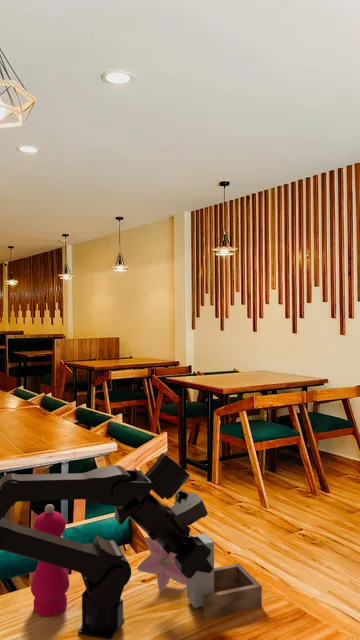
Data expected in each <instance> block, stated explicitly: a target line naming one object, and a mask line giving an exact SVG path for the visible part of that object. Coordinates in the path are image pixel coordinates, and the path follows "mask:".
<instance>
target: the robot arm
mask: <svg viewBox="0 0 360 640" xmlns="http://www.w3.org/2000/svg"><path fill="white" fill-rule="evenodd" d="M190 477H191V475H190V474H189V473H188V472H187V471H186V470H185V469H184V468H183V466H181V465H179V463H177V462H176V461H175V460H173V459H172V458H171V457H170V456H169V455H167V454H166V453H165V452H162V453H160V454H159V456H158V457H157V459H156V461H155V462H154V463H153V464H152V465H151V466H150V467H149V469H148V470H147V471H146V472H145V473H144V472H143V471H142V470H138V469H137V470H136V469H126V468H124V467H123V466H121V465H118V464H112V465H108V466H102V467H97V468H95V469H94V468H93V469H92V470H89V471H87V472H86V471H85V472H82V473H79V472H78V473H34V474H33V473H30V474H25V473H24V474H18V473H14V472H13V473H11V472H10V473H7V474H5V475H3V476H2V477H1V478H0V551H3V552H7V553H11V554H14V555H18V556H21V557H25V558H28V559H31V560H36V561H42V562H45V563H49V564H52V565H56V566H59V567H63V568H66V570H71V571H73V572H77V573H78V574H81V578H82V580H83V583H84V586H85V590H84V591H83V592H82V594H81V625H80V626H79V628H78V629H77V633H78V634H79V635H86V636H92V637H97V638H101V639H107V640H108V639H112V638H113V637H114V635H115V634H116V633H117V631H118V630H119V628H120V627H121V626H122V624H123V622H124V621H125V615H124V600H123V599H121V597H122V594H123V591H124V588H125V587H126V586H127V584H128V583H129V581H130V580H131V576H132V568H131V566H130V565H131V564H130V563H129V561H128V559H127V558H126V556H125V553H124V551H123V550H122V548H120V547H119V545H117V543H116V541H115V540H113V539H112V540H111V539H110V540H108V539H104V538H102V537H100V536H98V535H95V536H94V539H93V542H91V543H81V542H77V541H74V540H71V539H68V538H64V537H63V538H61V537H58V536H55V535H51V534H48V533H45V532H41V531H38V530H35V529H34V528H33V527H32V528H31V527H27V526H24V525H21V524H18V523H14V522H13V521H9V520H8V519H7V518H6V517H4V516H5V515H6V514H7V512H8V511H10V509H11V508H12V507H13V506H14V505H16V503H18V502H42V501H44V502H47V501H48V502H49V501H69V500H70V501H72V500H73V501H74V500H86V501H90V502H93V503H97V504H100V505H105V506H106V505H107V506H113V507H114V510H115V511H114V518H115V520H116V521H117V524H119V525H121V526H122V525H123V524H124V522H126V521H127V519H128V518H129V519H130V520H131V521H133V523H135V524H136V525H137V526H138V527H140V529H142V531H144V532H145V533H146V534H147V537H149V538H151V539H152V540H153V541H154V540H155V541H156V542H157V543H159V544H160V545H161V546H162V548H163V549H164V550H165V551H166V552H167V553H168V554H170V552H172V553H174V554H177V555H176V556H175V565H176V566H177V568H178V569H179V570H180V572H181V573H182V574H183V575H184V576H185V577H187V578H188V579H190V578H192V577H193V575H194V574H195V573H196V572H197V571H200V572H205V573H211V571H212V570H213V567H212V566H211V564H210V563H209V561H208V560H207V558H208V557H209V555H210V554H211V549H210V548H209V547H208V546H207V545H206V544H205V543H204V542H203V541H202V540H201V539H200V538H199V537H198V536H197V537H193V536H194V535H190V532H191V530H192V528H191V527H190V526H191V525H192V524H194V523H196V522H198V521H199V520H201V519H202V518H203V519H204V518H205V517H206V516H207V515H208V514H209V512H208V510H207V508H206V505H205V503H204V501H203V499H202V497H200V495H198V494H197V493H196V492H192V491H190V492H189V493H187V491H185V490H183V489H182V486H183V485H184V484H185V483H186V482H187V480H188V479H190ZM151 491H153V493H155V494H156V495H157V496H158V497H159V498H160V499H161V500H164V499H166V500H170V499H172V498H173V497H175V499H174V502H173V504H174V505H172V506H171V507H169V506H168V505H167V504H163V503H161V502H160V501H159V499H157V498H156V497H155V496H154V495H153V494H152V493H151ZM188 536H190V537H188Z"/></svg>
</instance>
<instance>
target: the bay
mask: <svg viewBox="0 0 360 640" xmlns="http://www.w3.org/2000/svg"><path fill="white" fill-rule="evenodd" d="M236 586H237V587H236ZM232 587H235V588H232ZM227 588H232V589H227ZM221 589H225V590H223V591H218V590H221ZM226 589H227V590H226ZM262 589H263V587H262V585H261V584H260V583H259V582H258V581H257V580H256V579H255V578H254V577H253V575H251V574H250V572H248V571H247V569H246V568H244V566H242V565H241V564H240V563H235V564H229V565H224V566H219V567H214V591H217V592H214V593H212V594H207V595H204V606H203V618H204V619H205V620H208V619H214V618H218V617H221V616H226V615H231V614H235V613H240V612H243V611H247V610H252V609H257V608H260V607H261V608H262V605H263V599H262V598H263V596H262V595H263V592H262V591H263V590H262Z"/></svg>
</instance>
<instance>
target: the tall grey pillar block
mask: <svg viewBox="0 0 360 640" xmlns="http://www.w3.org/2000/svg"><path fill="white" fill-rule="evenodd" d="M190 536H191V535H189V536H188V537H190ZM192 536H193V537H197V536H198V537H199V538H200V539H201V540H202V541H203V542H204V543H205V544H206V545H207V546H208V547H209V548H210V549H211V554H210V555H209V557H208V558H207V560H208V561H209V563H210V564H211V566H212V567H213V570H212V571H211V573H205V572H200V571H197V572H196V573H195V574H194V575H193V577H192V578H190V579H188V578H187V586H186V598H187V600H188V601H189V603H190V604H191V605H192V607H193V608H194V609H195V608H199V607H200V608H201V607H204V595H207V594H212V593H215V590H214V568H215V541H214V540H213V539H212V538H211V537H210V536H209V535H208V534H207V533H202V534H193V535H192Z"/></svg>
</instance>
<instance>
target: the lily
mask: <svg viewBox="0 0 360 640" xmlns="http://www.w3.org/2000/svg"><path fill="white" fill-rule="evenodd" d="M144 539H145V542H146V546H147V548H148V551H149V552H150V554H148V556H147V557H146V558H144V560H142V561H141V562H140V564H139V565H138V566H137V570H138V571H139V572H142V573H147V574H154V575H156V580H157V581H156V582H157V588H158V592H159V593H163V591H164V590H165V589H166V587H167V585H168V583H169V582H170V579H171V580H172V581H175V582H177V583H179V584H181V585H184V586H186V587H187V577H185V576H184V575H183V574H182V573H181V572H180V570H179V569H178V568H177V566H176V565H175V556H176V555H177V554H174V553H172V552H170V554H168V553H167V552H166V551H165V550H164V549H163V548H162V546H161V545H160V544H159V543H157V542H156V541H155V540H154V541H153V540H152V539H151V538H150V537H149V536H145V538H144Z"/></svg>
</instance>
